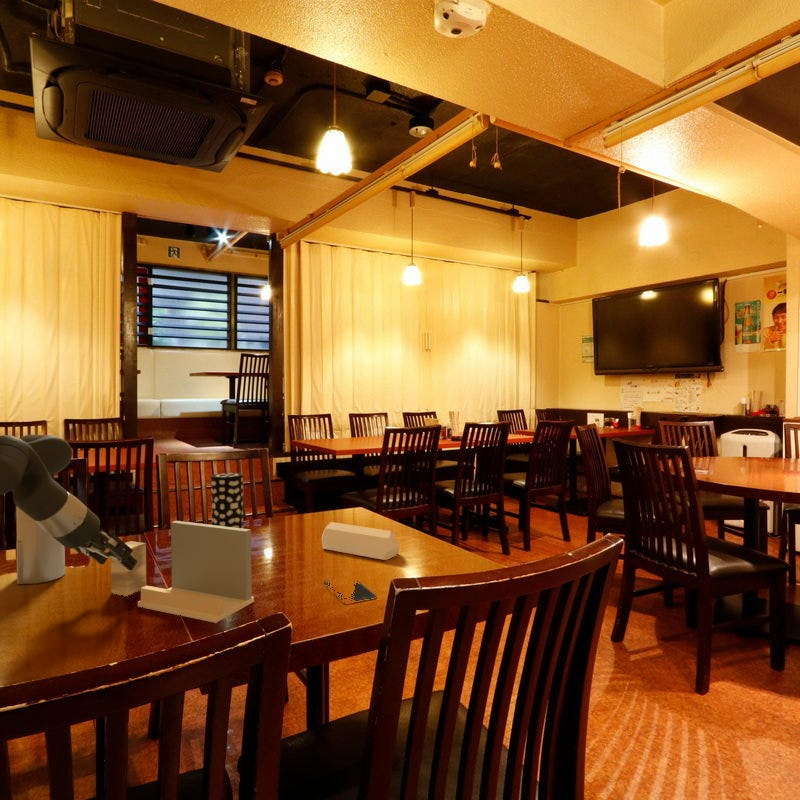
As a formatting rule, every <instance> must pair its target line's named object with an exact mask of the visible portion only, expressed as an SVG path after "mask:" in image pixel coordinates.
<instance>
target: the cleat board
mask: <svg viewBox="0 0 800 800" xmlns="http://www.w3.org/2000/svg"><path fill="white" fill-rule="evenodd" d="M170 537H171V538H170V541H171V545H170V546H171V551H170V552H171V557H170V558H171V587H169V588H161V587H156V586H153V585H152V586H150V585H146V586H144V587H142V588H141V591H140V599H139V601H137V607H138V608H142V607H143V608H142V609H148V610H151V611H152V610H153V611H158V612H163V613H167V614H172V615H177V616H180V615H181V616H180V617H186V618H191V619H196V620H200V621H204V622H209V623H214V624H217V623H218V622H221V621H222V620H224V619H225V618H228V617H229V616H232V615H233V614H235V613H236V612H238V611H240V610H241V609H243V608H246V607H247V606H249V605H251V604H252V603H254V602H255V597H254V596H252V595H253V594H252V529H249V528H243V529H242V528H233V527H225V526H217V525H212V524H207V523H199V522H198V523H197V522H191V521H182V520H174V521H171V522H170Z"/></svg>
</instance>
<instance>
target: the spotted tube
mask: <svg viewBox="0 0 800 800" xmlns="http://www.w3.org/2000/svg"><path fill="white" fill-rule="evenodd" d="M210 478H211V479H210V480H211V484H210V485H211V488H210V489H211V490H210V491H211V525H217V526H225V527H233V528H242V529H244V482H243V481H244V476H243V473H240V472H223V473H217V474H212V475H211V477H210Z"/></svg>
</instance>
